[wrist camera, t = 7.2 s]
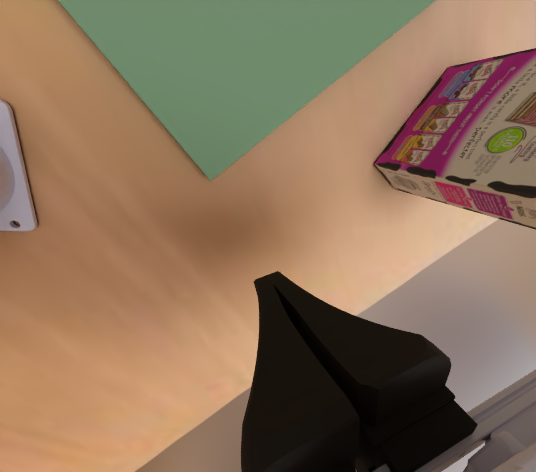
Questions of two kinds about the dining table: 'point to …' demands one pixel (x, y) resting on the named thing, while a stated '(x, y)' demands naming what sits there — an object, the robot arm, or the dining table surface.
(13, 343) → the dining table surface
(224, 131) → the putting mat
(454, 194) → the candy bar box
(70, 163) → the dining table surface
